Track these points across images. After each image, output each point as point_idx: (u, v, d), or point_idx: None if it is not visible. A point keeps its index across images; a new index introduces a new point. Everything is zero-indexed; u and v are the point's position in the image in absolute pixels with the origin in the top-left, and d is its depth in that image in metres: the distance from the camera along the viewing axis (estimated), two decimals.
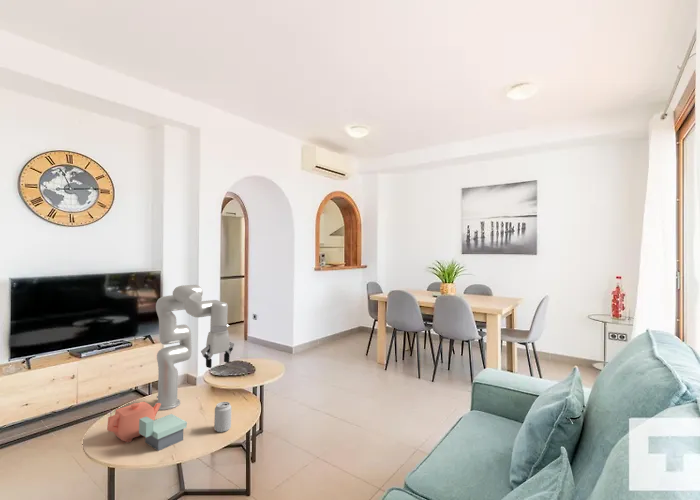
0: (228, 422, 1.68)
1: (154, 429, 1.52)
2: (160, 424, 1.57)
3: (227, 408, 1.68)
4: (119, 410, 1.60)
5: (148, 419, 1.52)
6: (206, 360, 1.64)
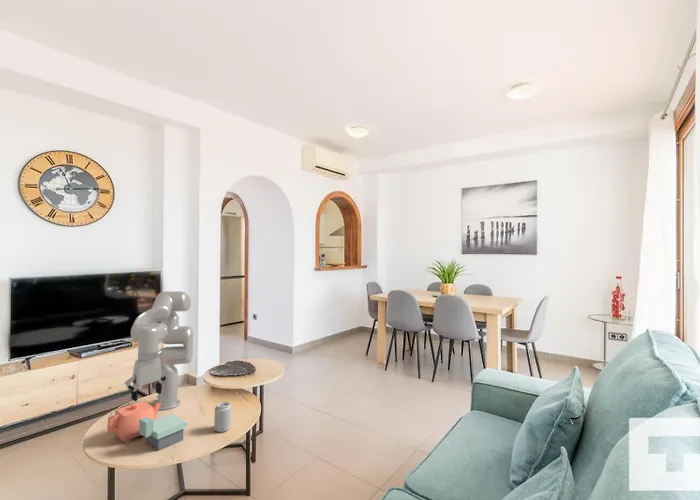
0: (228, 422, 1.68)
1: (154, 429, 1.52)
2: (160, 424, 1.57)
3: (227, 408, 1.68)
4: (119, 410, 1.60)
5: (148, 419, 1.52)
6: (131, 392, 1.47)
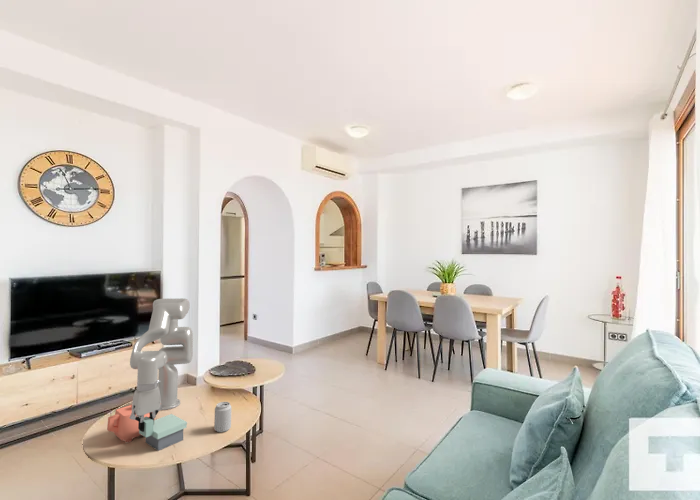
0: (228, 422, 1.68)
1: (154, 429, 1.52)
2: (160, 424, 1.57)
3: (227, 408, 1.68)
4: (119, 410, 1.60)
5: (148, 419, 1.52)
6: None
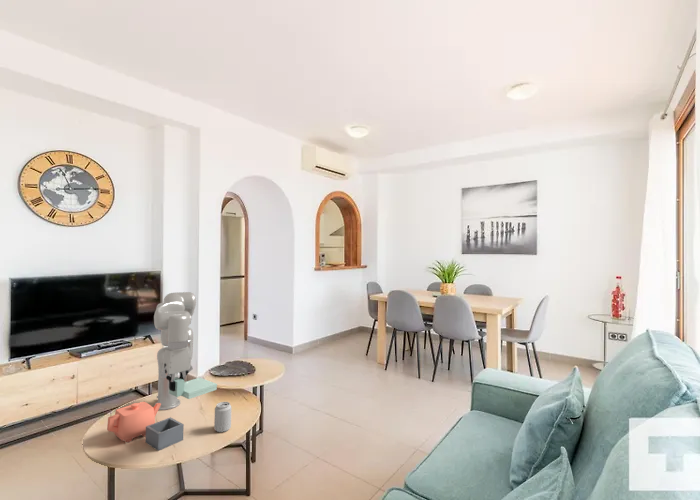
0: (228, 422, 1.68)
1: (185, 389, 1.48)
2: (190, 385, 1.52)
3: (227, 408, 1.68)
4: (119, 410, 1.60)
5: (178, 379, 1.48)
6: (169, 382, 1.45)
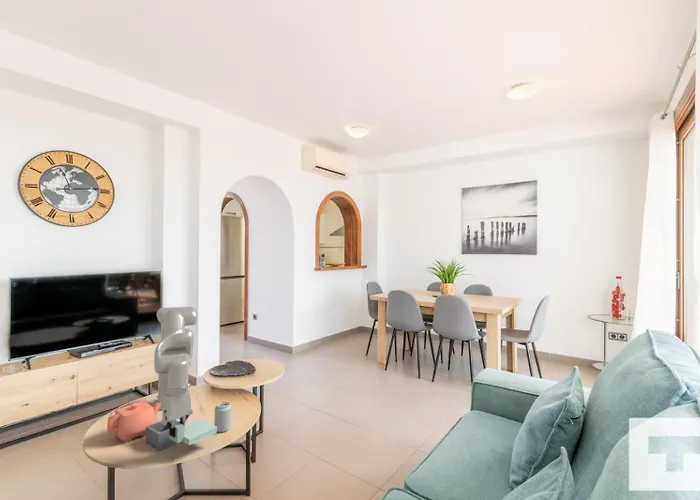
0: (228, 422, 1.68)
1: (185, 434, 1.48)
2: (190, 429, 1.52)
3: (227, 408, 1.68)
4: (119, 410, 1.60)
5: (179, 424, 1.47)
6: (169, 428, 1.45)
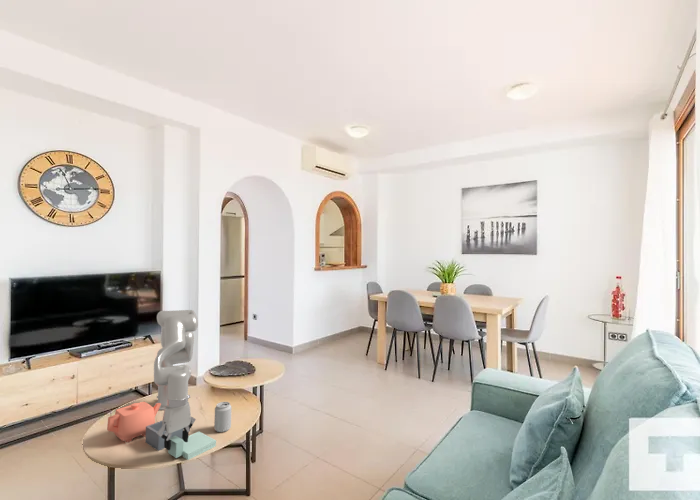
0: (228, 422, 1.68)
1: (184, 449, 1.47)
2: (189, 443, 1.52)
3: (227, 408, 1.68)
4: (119, 410, 1.60)
5: (177, 438, 1.47)
6: (164, 441, 1.43)
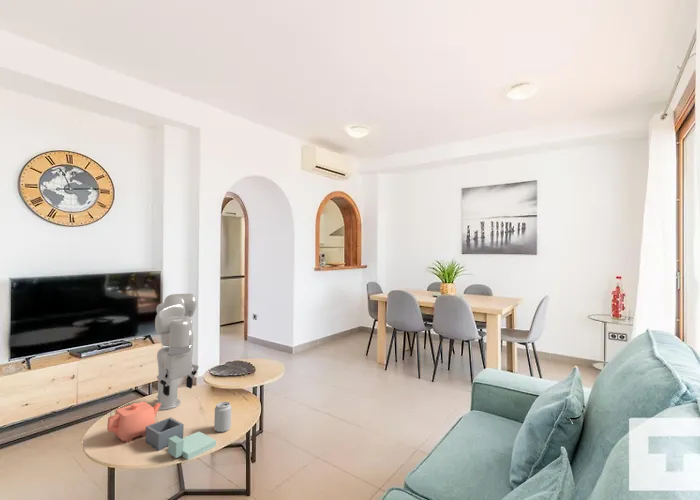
0: (228, 422, 1.68)
1: (184, 449, 1.47)
2: (189, 443, 1.52)
3: (227, 408, 1.68)
4: (119, 410, 1.60)
5: (177, 438, 1.47)
6: (163, 387, 1.43)
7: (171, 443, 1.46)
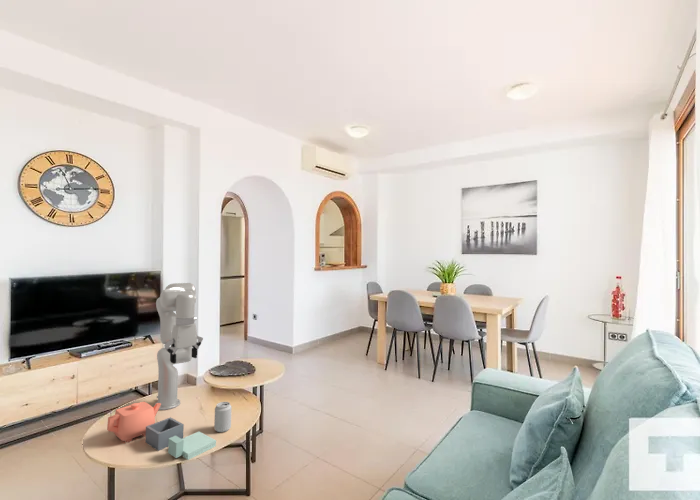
0: (228, 422, 1.68)
1: (184, 449, 1.47)
2: (189, 443, 1.52)
3: (227, 408, 1.68)
4: (119, 410, 1.60)
5: (177, 438, 1.47)
6: (170, 355, 1.53)
7: (171, 443, 1.46)
